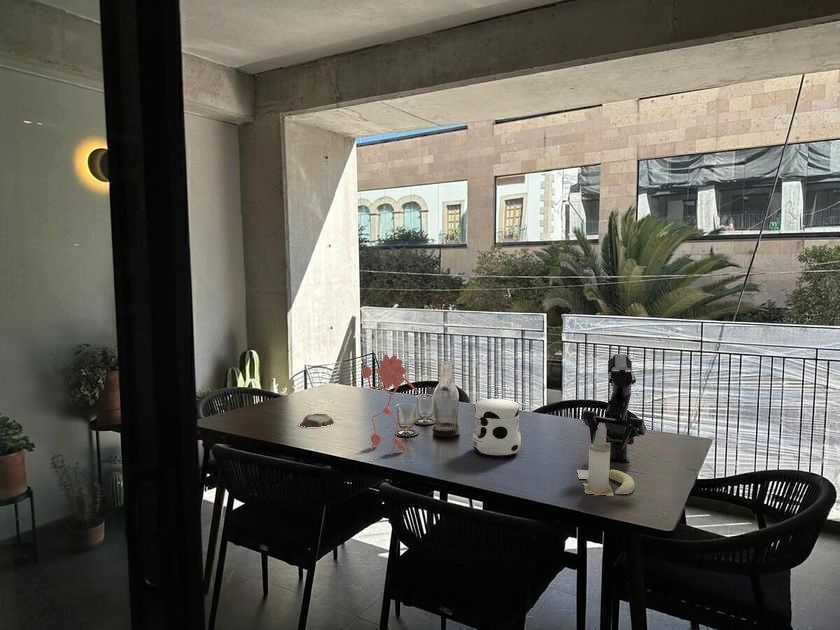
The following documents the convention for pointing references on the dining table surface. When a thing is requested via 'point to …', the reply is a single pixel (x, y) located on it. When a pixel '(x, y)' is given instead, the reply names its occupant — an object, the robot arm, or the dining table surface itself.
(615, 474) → the fruit
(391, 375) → the pink blossom sprig
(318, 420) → the quiche
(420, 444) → the dining table surface
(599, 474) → the tumbler
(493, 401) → the milk container
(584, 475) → the grey square tile
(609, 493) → the cork coaster
